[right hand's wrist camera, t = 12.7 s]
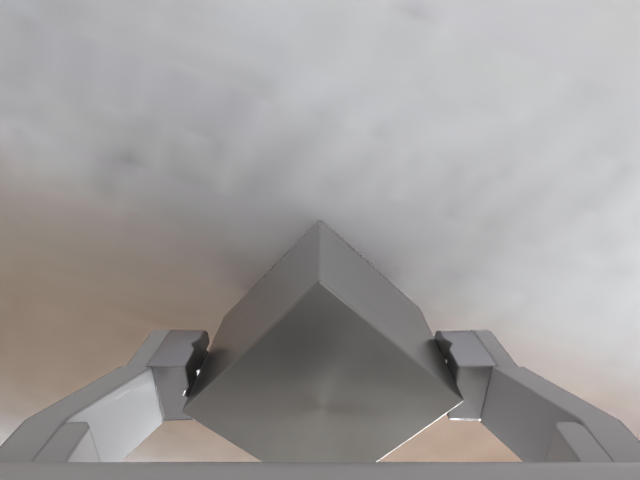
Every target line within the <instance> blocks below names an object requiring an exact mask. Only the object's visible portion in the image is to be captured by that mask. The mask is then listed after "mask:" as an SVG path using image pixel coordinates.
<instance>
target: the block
mask: <svg viewBox="0 0 640 480" xmlns="http://www.w3.org/2000/svg"><path fill="white" fill-rule="evenodd" d="M463 401H464V399H463V397H462V395H461V392H460V390H459V388H458V386H457V384H456V383H455V381H454V379H453V377H452V375H451V373H450V371H449V369H448V367H447V363H446V361H445V359H444V357H443V356H442V354H441V352H440V350H439V348H438V346H437V344H436V342H435V340H434V336H433V334H432V332H431V330H430V328H429V326H428V324H427V322H426V320H425V318H424V316H423V314H422V312H421V309H420V308H419V307H418V306H417V305H415V304H414V303H413V302H412V301H411V300H410V299H409V298H408V297H406V296H405V295H404V294H403V293H402V292H401V291H400V290H399V289H397V288H396V287H395V286H394V285H393V284H392V283H391V282H390V281H388V280H387V279H386V278H385V277H384V276H383V275H382V274H381V273H379V272H378V271H377V270H376V269H375V268H374V267H373V266H372V265H370V264H369V263H368V262H367V261H366V260H365V259H364V258H363V257H361V256H360V255H359V254H358V253H357V252H356V251H355V250H354V249H353V248H351V247H350V246H349V245H348V244H347V243H346V242H345V241H344V240H342V239H341V238H340V237H339V236H338V235H337V234H336V233H335V232H333V231H332V230H331V229H330V228H329V227H328V226H327V225H326V224H324V223H323V222H322V221H321V220H319V221H318V222H317V223H316V224H315V225H314V226H313V227H312V228H311V229H310V230H309V231H308V232H307V233H306V234H305V235H304V236H303V237H302V238H301V239H300V240H299V241H298V242H297V243H296V244H295V245H294V246H293V247H292V248H291V249H290V250H289V251H288V253H287V254H286V255H285V256H284V257H283V258H282V259H281V260H280V261H279V262H278V263H277V264H276V265H275V266H274V267H273V268H272V269H271V270H270V271H269V272H268V273H267V274H266V275H265V276H264V277H263V278H262V279H261V280H260V281H259V282H258V283H257V284H256V285H255V286H254V287H253V288H252V289H251V290H250V291H249V292H248V293H247V294H246V295H245V296H244V297H243V298H242V299H241V300H240V301H239V302H238V303H237V304H236V305H235V306H234V308H233V309H232V310H231V311H230V312H229V313H228V314H227V315H226V316H225V317H224V318H223V320H222V323H221V325H220V327H219V329H218V331H217V334H216V336H215V338H214V340H213V343H212V345H211V347H210V349H209V351H208V354H207V356H206V358H205V360H204V363H203V365H202V367H201V369H200V372H199V374H198V376H197V378H196V380H195V383H194V385H193V387H192V389H191V392H190V394H189V396H188V398H187V400H186V403H185V405H184V407H183V410H182V412H183V413H185V414H186V415H188V416H189V417H191V418H193V419H194V420H196V421H198V422H199V423H201V424H202V425H204V426H206V427H207V428H209V429H210V430H212V431H214V432H215V433H217V434H219V435H220V436H222V437H223V438H225V439H227V440H228V441H230V442H231V443H233V444H235V445H236V446H238V447H240V448H241V449H243V450H244V451H246V452H248V453H249V454H251V455H252V456H254V457H256V458H257V459H259V460H260V461H262V462H378V461H379V460H381V459H382V458H383V457H385V456H386V455H388V454H389V453H391V452H392V451H393V450H395V449H396V448H398V447H399V446H400V445H402V444H403V443H405V442H406V441H408V440H409V439H410V438H412V437H413V436H415V435H416V434H418V433H419V432H420V431H422V430H423V429H425V428H426V427H428V426H429V425H430V424H432V423H433V422H435V421H436V420H438V419H439V418H440V417H442V416H443V415H445V414H446V413H448V412H449V411H450V410H452V409H453V408H455V407H456V406H458V405H459V404H460V403H462V402H463Z"/></svg>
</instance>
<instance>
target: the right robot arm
mask: <svg viewBox="0 0 640 480" xmlns="http://www.w3.org/2000/svg"><path fill="white" fill-rule="evenodd" d="M434 340H435V342H436V344H437V346H438V348H439V350H440V352H441V354H442V356H443V357H444V359H445V361H446V363H447V367H448V369H449V371H450V373H451V375H452V377H453V379H454V381H455V383H456V384H457V386H458V388H459V390H460V392H461V395H462V397H463V399H464V401H463V402H462V403H460V404H459V405H458V406H456V407H455V408H453V409H452V410H450V411H449V412H448V413H447V416H448V418H449V420H479V421H480V422H481V423H482V424H483V425H484V426H485V427H486V428H487V429H488V430H490V431H491V432H492V433H493V434H494V435H495V436H496V437H497V438H498V439H499V440H500V441H502V442H503V443H504V444H505V445H506V446H507V447H508V448H509V449H510V450H511V451H512V452H514V453H515V454H516V455H517V456H518V457H519V458H520V459H521V460H522V461H523V462H121V461H122V460H123V459H124V458H125V457H126V456H127V455H128V454H129V453H130V452H132V451H133V450H134V449H135V448H136V447H137V446H138V445H139V444H140V443H141V442H142V441H143V440H144V439H146V438H147V437H148V436H149V435H150V434H151V433H152V432H153V431H154V430H155V429H156V428H157V427H159V426H160V425H161V424H162V423H163V421H165V420H194V419H193V418H191V417H189V416H188V415H186V414H185V413H183V412H182V410H183V407H184V405H185V403H186V400H187V398H188V396H189V394H190V392H191V389H192V387H193V385H194V383H195V380H196V378H197V376H198V374H199V372H200V369H201V367H202V365H203V363H204V360H205V358H206V356H207V354H208V351H207V350H206V349H207V347H208V344H209V337H208V333H207V332H206V331H202V330H154V331H152V332H151V333H150V335H149V336H148V337H147V339H146V340H145V341H144V343H143V344H142V345H141V347H140V348H139V349H138V351H137V352H136V354H135V355H134V356H133V358H132V359H131V360H130V362H129V363H128V364H127V366H126V367H119V368H117V369H115V370H114V371H112V372H110V373H108V374H107V375H105V376H103V377H101V378H99V379H98V380H96V381H94V382H92V383H90V384H89V385H87V386H85V387H83V388H82V389H80V390H78V391H76V392H74V393H73V394H71V395H69V396H67V397H65V398H64V399H62V400H60V401H58V402H57V403H55V404H53V405H51V406H49V407H48V408H46V409H44V410H42V411H40V412H39V413H37V414H35V415H33V416H32V417H30V418H28V419H26V420H25V421H24V422H23V423H22V424H21V425H20V426H19V427H18V428H17V429H16V430H15V431H14V432H13V433H12V434H11V436H10V437H9V438H8V439H7V440H6V441H5V442H4V443H3V444H2V445H1V446H0V480H640V441H639V440H638V439H637V438H636V437H635V436H634V434H633V433H632V432H631V431H630V430H629V429H628V428H627V427H626V426H625V425H624V424H623V423H622V422H621V421H620V420H618V419H616V418H615V417H613V416H611V415H609V414H607V413H606V412H604V411H602V410H600V409H598V408H597V407H595V406H593V405H591V404H589V403H588V402H586V401H584V400H582V399H580V398H579V397H577V396H575V395H573V394H571V393H570V392H568V391H566V390H564V389H563V388H561V387H559V386H557V385H555V384H554V383H552V382H550V381H548V380H546V379H545V378H543V377H541V376H539V375H537V374H536V373H534V372H532V371H530V370H528V369H527V368H525V367H518V366H517V365H516V363H515V362H514V361H513V359H512V358H511V357H510V355H509V354H508V353H507V352H506V350H505V349H504V348H503V346H502V345H501V344H500V342H499V341H498V340H497V338H496V337H495V336H494V334H493V333H492V332H491V331H489V330H470V331H436V334H435V337H434Z"/></svg>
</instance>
